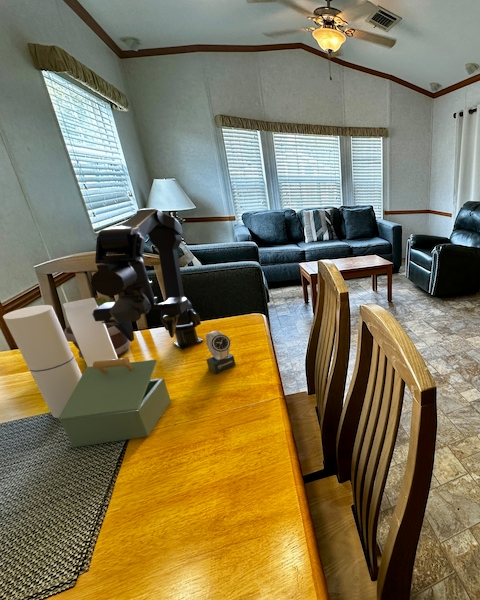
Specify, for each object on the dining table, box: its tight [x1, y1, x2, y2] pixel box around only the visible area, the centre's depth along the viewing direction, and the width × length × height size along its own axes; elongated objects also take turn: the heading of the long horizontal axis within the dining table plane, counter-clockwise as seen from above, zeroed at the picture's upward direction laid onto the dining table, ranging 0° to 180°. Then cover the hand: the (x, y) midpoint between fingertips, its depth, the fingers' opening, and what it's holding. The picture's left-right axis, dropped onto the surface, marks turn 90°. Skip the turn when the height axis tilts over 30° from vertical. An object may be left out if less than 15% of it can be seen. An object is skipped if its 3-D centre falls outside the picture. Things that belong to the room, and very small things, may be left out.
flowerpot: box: [63, 294, 131, 360], centre depth 97 cm, size 14×15×20 cm
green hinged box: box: [59, 377, 172, 448], centre depth 72 cm, size 12×14×7 cm
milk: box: [62, 297, 119, 368], centre depth 87 cm, size 6×6×22 cm
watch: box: [205, 330, 236, 375], centre depth 91 cm, size 6×8×11 cm
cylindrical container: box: [2, 304, 83, 419], centre depth 73 cm, size 7×7×25 cm
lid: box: [57, 357, 158, 421], centre depth 68 cm, size 12×14×4 cm
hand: (152, 338), depth 84 cm, fingers open, 9 cm apart
